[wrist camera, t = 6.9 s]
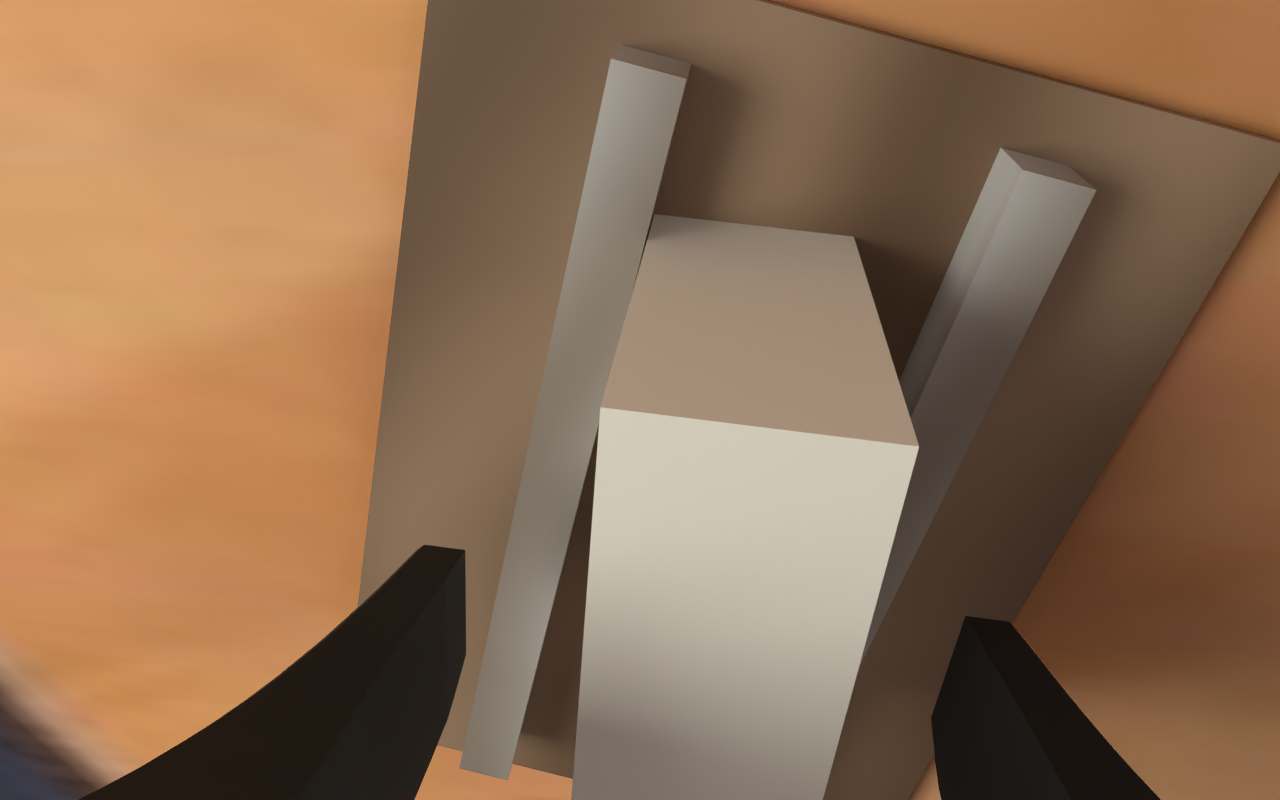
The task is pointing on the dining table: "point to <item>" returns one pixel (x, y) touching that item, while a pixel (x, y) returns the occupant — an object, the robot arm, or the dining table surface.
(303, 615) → the dining table surface
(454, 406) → the track board
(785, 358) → the cream rectangular block
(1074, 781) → the robot arm
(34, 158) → the dining table surface
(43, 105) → the dining table surface
